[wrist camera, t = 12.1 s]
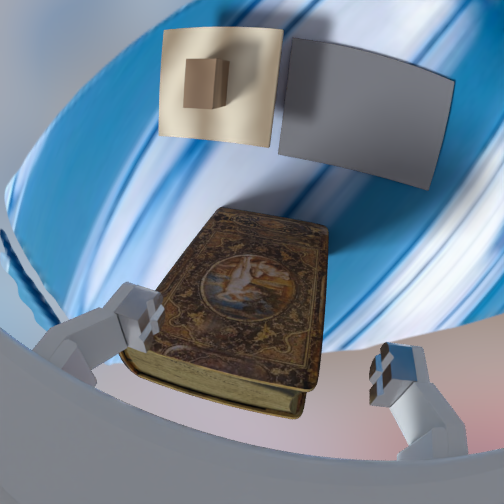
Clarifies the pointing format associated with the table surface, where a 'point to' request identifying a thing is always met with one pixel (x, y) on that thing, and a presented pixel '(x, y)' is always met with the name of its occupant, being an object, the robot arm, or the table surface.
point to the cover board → (241, 86)
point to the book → (243, 314)
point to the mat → (364, 112)
